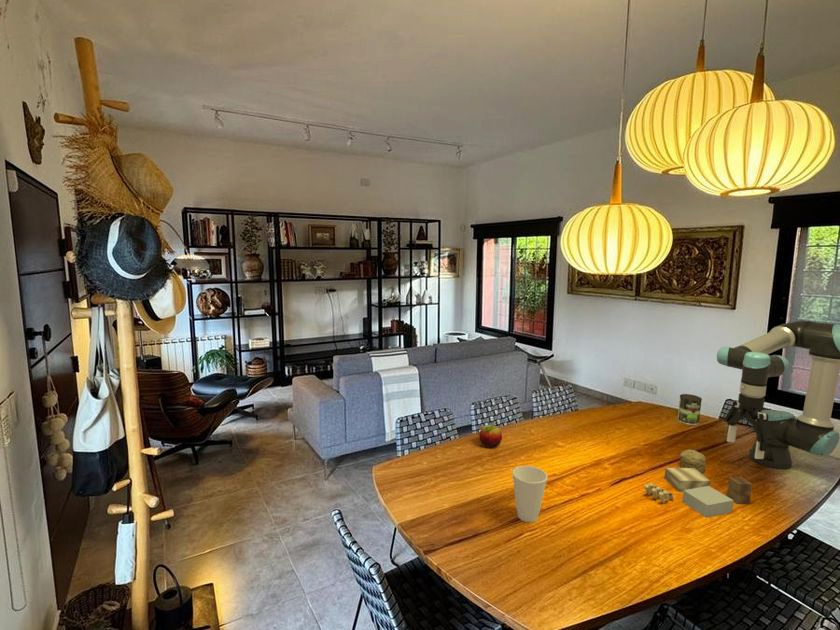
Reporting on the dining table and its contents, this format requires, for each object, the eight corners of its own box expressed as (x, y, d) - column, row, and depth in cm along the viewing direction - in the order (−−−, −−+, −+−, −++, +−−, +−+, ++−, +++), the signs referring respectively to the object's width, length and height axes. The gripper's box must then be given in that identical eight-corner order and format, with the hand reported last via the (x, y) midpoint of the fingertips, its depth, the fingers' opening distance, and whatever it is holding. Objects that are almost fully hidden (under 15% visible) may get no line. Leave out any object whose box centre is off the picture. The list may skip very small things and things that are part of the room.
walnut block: (739, 496, 170) (741, 477, 169) (749, 504, 165) (752, 484, 164) (726, 496, 170) (729, 477, 168) (736, 504, 165) (739, 484, 163)
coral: (710, 472, 188) (712, 455, 187) (693, 475, 185) (695, 458, 184) (691, 462, 196) (693, 446, 195) (674, 464, 194) (676, 448, 193)
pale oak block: (693, 479, 183) (694, 468, 182) (708, 492, 173) (710, 480, 172) (664, 479, 182) (665, 467, 182) (678, 492, 173) (679, 480, 172)
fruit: (505, 443, 213) (505, 424, 211) (496, 452, 204) (497, 431, 202) (484, 438, 218) (485, 419, 217) (475, 446, 209) (475, 426, 208)
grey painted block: (707, 497, 169) (708, 485, 168) (731, 513, 160) (733, 500, 159) (682, 502, 166) (683, 490, 165) (706, 518, 156) (707, 505, 155)
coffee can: (702, 426, 237) (705, 400, 234) (681, 424, 238) (684, 399, 236) (694, 418, 247) (696, 394, 244) (674, 417, 248) (676, 393, 246)
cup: (538, 530, 148) (541, 486, 145) (505, 519, 154) (507, 476, 151) (549, 513, 158) (551, 471, 155) (517, 502, 164) (519, 462, 161)
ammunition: (662, 494, 162) (675, 488, 166) (643, 484, 169) (657, 479, 172) (660, 506, 163) (674, 500, 167) (642, 496, 169) (656, 491, 173)
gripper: (717, 384, 173) (711, 435, 176) (770, 407, 148) (761, 466, 152) (736, 384, 173) (729, 435, 177) (791, 407, 149) (782, 466, 152)
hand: (744, 449), depth 164 cm, fingers open, 13 cm apart
